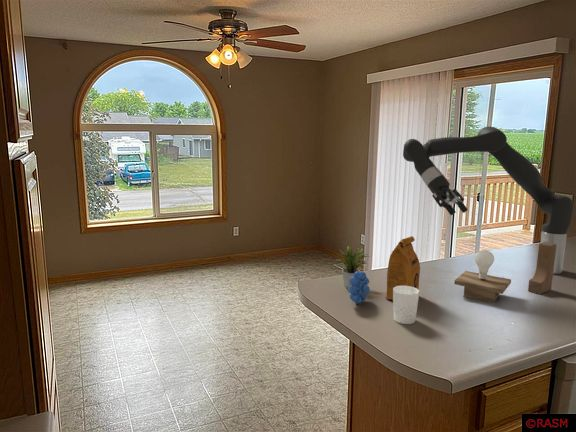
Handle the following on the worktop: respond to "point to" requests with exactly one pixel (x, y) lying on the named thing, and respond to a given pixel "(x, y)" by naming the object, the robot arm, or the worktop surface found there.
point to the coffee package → (403, 267)
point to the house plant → (351, 264)
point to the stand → (482, 286)
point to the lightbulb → (484, 262)
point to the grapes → (358, 287)
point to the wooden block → (543, 269)
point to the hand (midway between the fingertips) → (459, 212)
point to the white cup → (405, 304)
